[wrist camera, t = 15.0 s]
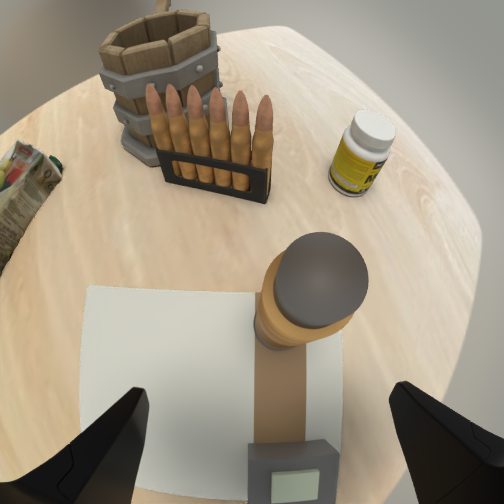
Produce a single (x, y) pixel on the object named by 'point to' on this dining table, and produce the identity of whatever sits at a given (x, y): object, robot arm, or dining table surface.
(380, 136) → the supplement bottle
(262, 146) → the ammunition clip
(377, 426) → the dining table surface
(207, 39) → the tankard
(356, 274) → the tan cylinder
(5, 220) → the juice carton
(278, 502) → the grey cube-like block
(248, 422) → the floor panel
